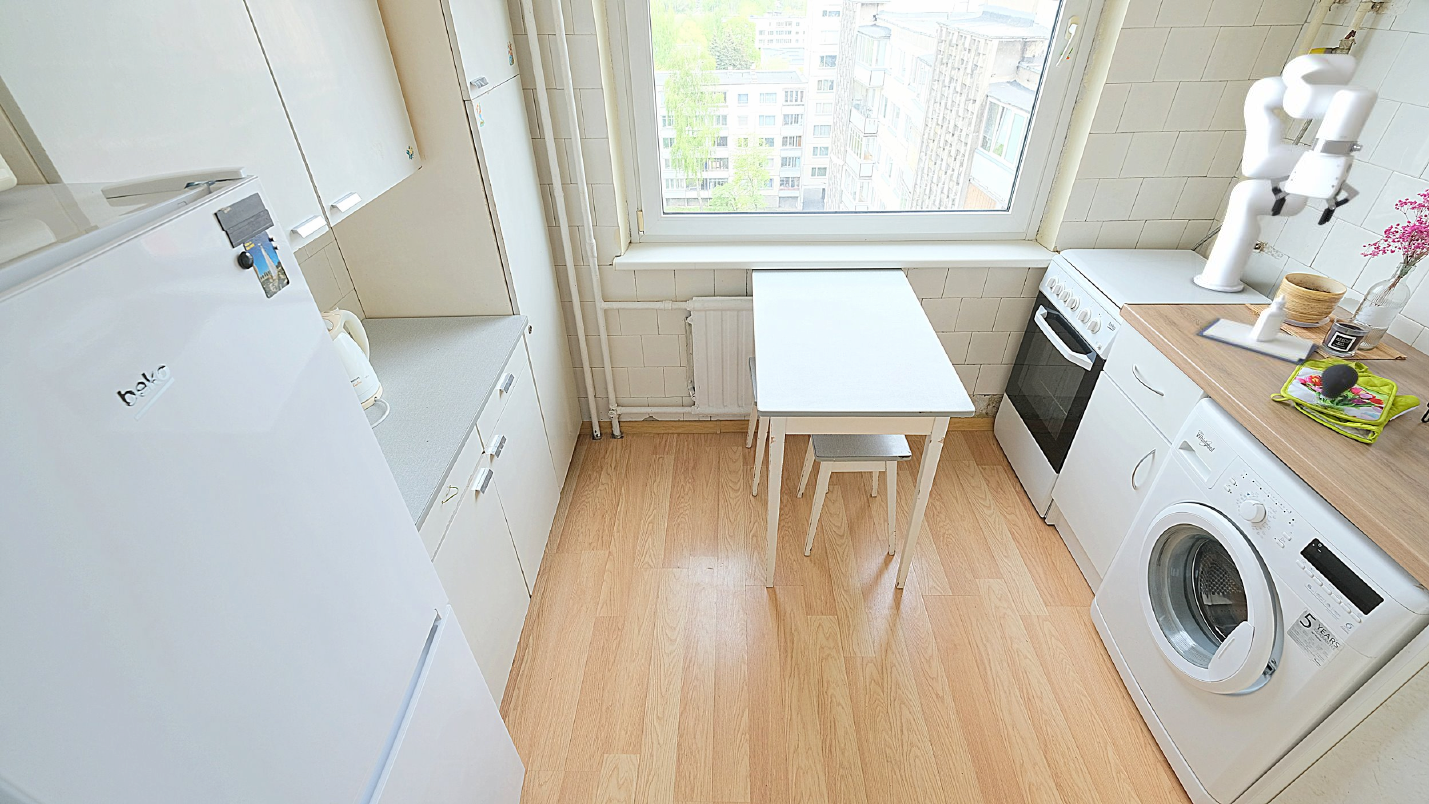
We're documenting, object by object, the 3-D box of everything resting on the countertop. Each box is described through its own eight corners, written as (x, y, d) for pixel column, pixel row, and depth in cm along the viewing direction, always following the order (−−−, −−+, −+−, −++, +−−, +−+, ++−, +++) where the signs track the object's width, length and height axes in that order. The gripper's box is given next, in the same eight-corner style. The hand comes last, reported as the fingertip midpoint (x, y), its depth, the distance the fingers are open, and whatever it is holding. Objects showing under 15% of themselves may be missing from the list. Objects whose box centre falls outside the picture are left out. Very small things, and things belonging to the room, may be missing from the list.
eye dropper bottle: (1277, 344, 161) (1300, 300, 154) (1251, 340, 162) (1272, 296, 156) (1272, 337, 164) (1294, 293, 158) (1246, 333, 166) (1266, 290, 160)
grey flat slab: (1218, 319, 176) (1219, 315, 176) (1318, 346, 162) (1320, 342, 161) (1197, 334, 168) (1198, 331, 167) (1300, 365, 153) (1302, 361, 153)
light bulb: (1299, 399, 140) (1322, 359, 135) (1325, 399, 140) (1349, 359, 134) (1319, 413, 135) (1343, 371, 130) (1346, 413, 135) (1371, 372, 130)
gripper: (1385, 151, 146) (1346, 225, 155) (1294, 140, 158) (1264, 210, 167) (1373, 155, 142) (1334, 230, 151) (1282, 143, 155) (1251, 214, 164)
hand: (1297, 219), depth 159 cm, fingers open, 9 cm apart
